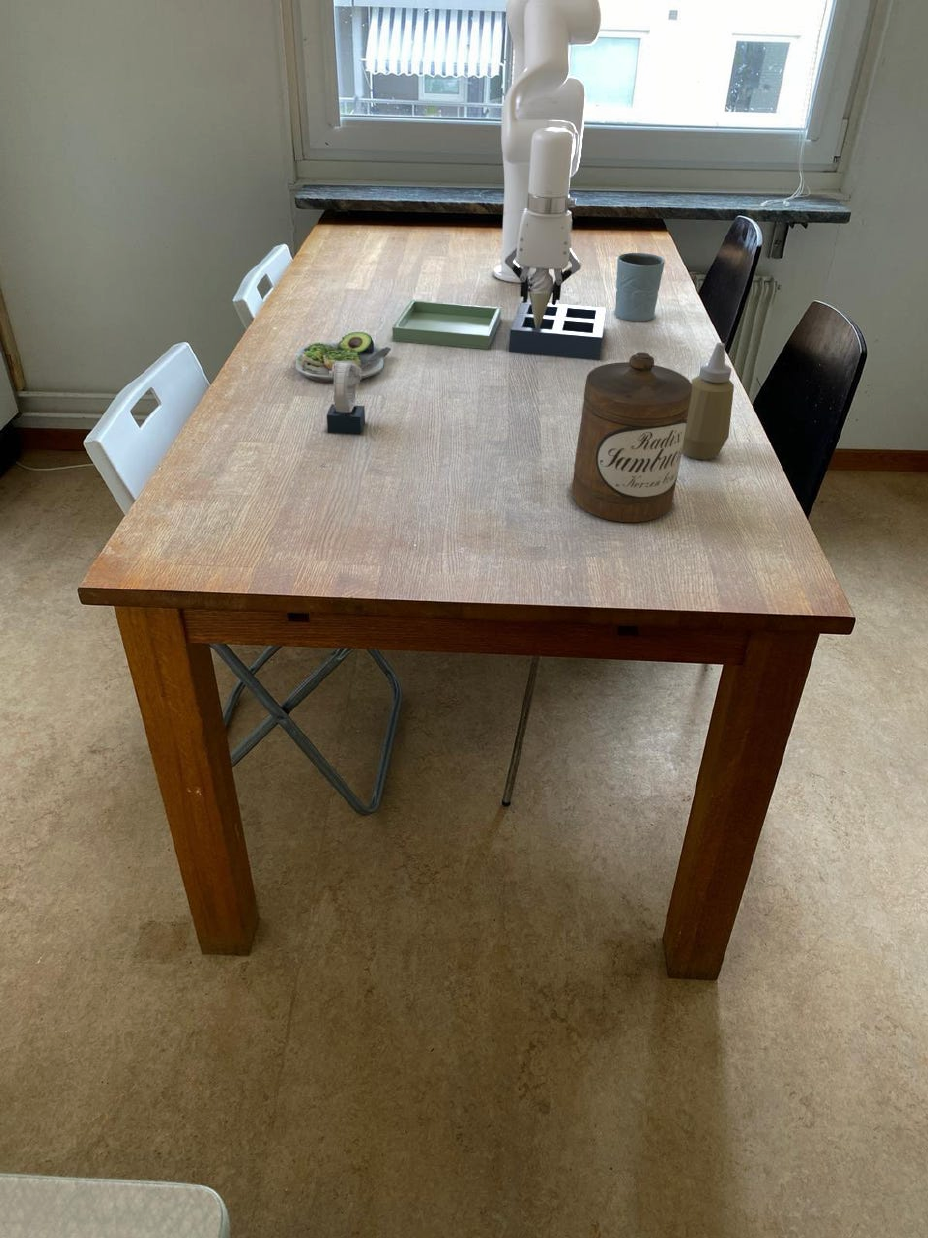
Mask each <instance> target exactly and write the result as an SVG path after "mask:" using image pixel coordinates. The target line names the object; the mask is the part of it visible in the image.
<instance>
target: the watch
mask: <svg viewBox="0 0 928 1238" xmlns="http://www.w3.org/2000/svg"><path fill="white" fill-rule="evenodd" d="M329 375H330V376H332V377H333V379H334V383H333V398H332V399H333V403H331V404H330V406H329V409H328V410H327V413H326V429H327V433H330V434H344V435H345V434H346V435H362V433H363V430H364V428H365V426H366V410H365V405H356V404H355V401H356V393H357V392H356V391H357V389H359V386H360V383H361V380H362V379H361V376H362V370H361V368H360V367H359V366H358V365H356V364H355V363H352V362H348V361H340V362H337V363H335V364H334V365H333V367H332V371H329Z"/></svg>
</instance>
